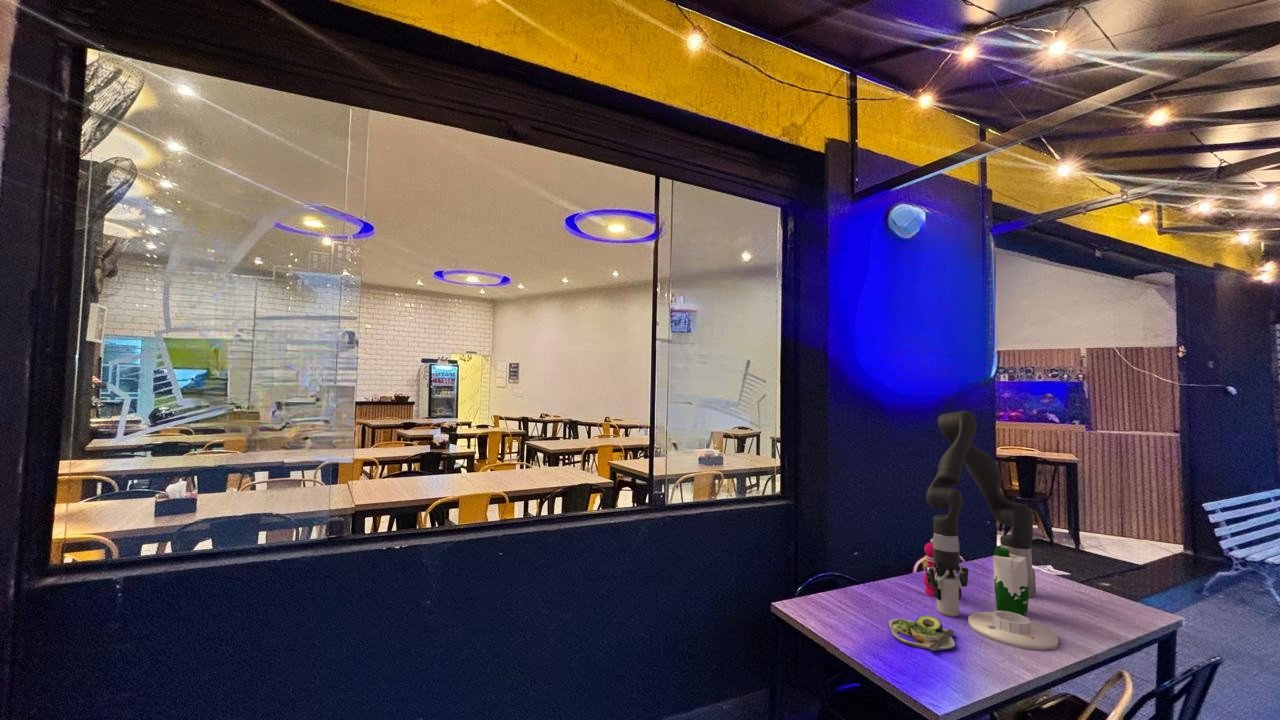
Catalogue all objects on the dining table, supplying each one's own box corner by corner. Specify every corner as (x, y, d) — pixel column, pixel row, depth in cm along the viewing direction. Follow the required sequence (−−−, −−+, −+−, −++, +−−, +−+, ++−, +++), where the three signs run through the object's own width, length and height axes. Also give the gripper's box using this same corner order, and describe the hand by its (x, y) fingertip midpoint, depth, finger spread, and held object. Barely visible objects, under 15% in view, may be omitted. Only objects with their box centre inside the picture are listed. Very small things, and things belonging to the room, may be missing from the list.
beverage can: (961, 613, 164) (959, 576, 165) (957, 619, 159) (956, 581, 160) (939, 607, 168) (938, 571, 169) (935, 613, 163) (933, 576, 164)
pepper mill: (919, 592, 182) (917, 537, 184) (932, 589, 185) (930, 535, 187) (938, 599, 175) (936, 542, 177) (951, 596, 178) (949, 540, 180)
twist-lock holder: (1014, 616, 162) (1013, 602, 163) (1079, 649, 141) (1078, 632, 141) (952, 617, 160) (951, 603, 161) (1008, 651, 139) (1007, 634, 139)
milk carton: (999, 603, 173) (997, 545, 175) (1031, 612, 166) (1028, 551, 168) (992, 610, 167) (990, 549, 169) (1025, 619, 160) (1022, 556, 162)
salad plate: (967, 662, 133) (966, 644, 133) (893, 649, 139) (893, 632, 140) (951, 632, 151) (951, 616, 151) (887, 621, 157) (886, 606, 158)
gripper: (957, 544, 170) (959, 594, 168) (918, 544, 169) (920, 595, 167) (974, 550, 162) (976, 603, 161) (933, 551, 161) (935, 604, 160)
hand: (948, 599), depth 164 cm, fingers closed on beverage can, 6 cm apart
